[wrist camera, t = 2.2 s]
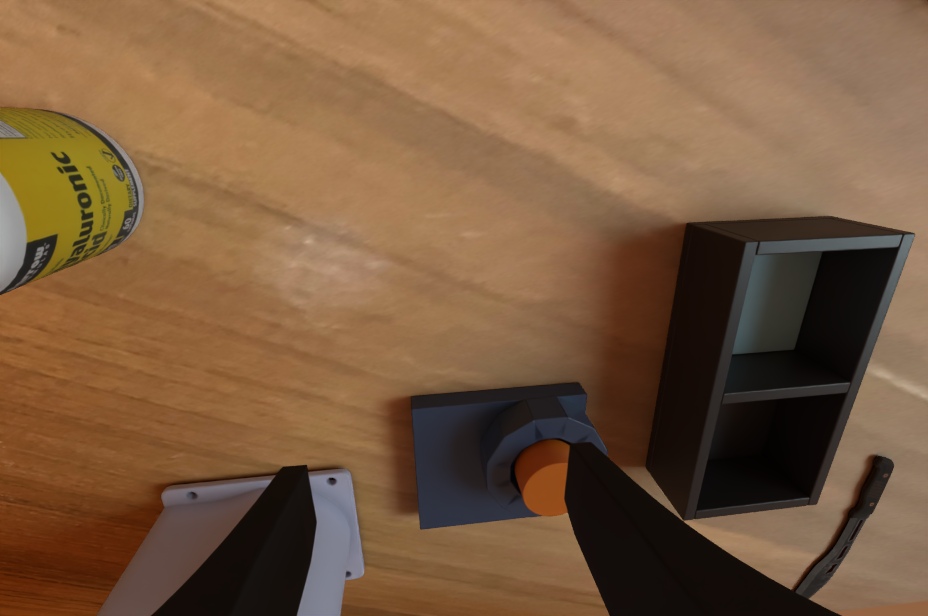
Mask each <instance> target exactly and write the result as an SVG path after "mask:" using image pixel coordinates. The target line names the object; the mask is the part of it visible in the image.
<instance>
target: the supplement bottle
mask: <svg viewBox="0 0 928 616" xmlns="http://www.w3.org/2000/svg"><path fill="white" fill-rule="evenodd" d="M143 207H144V194H143V187H142V183H141V180H140V177H139V174H138V172H137V170H136V168H135V166H134V164H133V162H132V161H131V159H130V158H129V156H128V155H127V154H126V152H125V151H124V150H123V149H122V148H121V147H120V145H119V144H118V143H116V142H115V141H114V140H113V139H112V138H111V137H110V136H108V135H107V134H106V133H104V132H103V131H102V130H100V129H98V128H97V127H95V126H94V125H92V124H90V123H88V122H86V121H84V120H82V119H79V118H77V117H74V116H71V115H68V114H64V113H59V112H54V111H48V110H40V109H26V108H11V107H0V295H2V294H4V293H6V292H9V291H11V290H13V289H16V288H18V287H20V286H23V285H25V284H28V283H30V282H33V281H35V280H38V279H40V278H43V277H45V276H48V275H50V274H53V273H55V272H58V271H60V270H63V269H65V268H67V267H70V266H73V265H75V264H77V263H80V262H82V261H85V260H87V259H89V258H92V257H95V256H98V255H100V254H102V253H104V252H106V251H108V250H110V249H112V248H114V247H116V246H118V245H120V244H121V243H122V242H124V241H125V240H126V239H127V238H129V237H130V236H131V234H132V233H133V232H134V231H135V229H136V228H137V226H138V224H139V222H140V219H141V216H142V213H143Z"/></svg>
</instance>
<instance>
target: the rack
mask: <svg viewBox="0 0 928 616" xmlns="http://www.w3.org/2000/svg"><path fill="white" fill-rule="evenodd" d="M914 237H915V234H914V233H911V232H906V231H901V230H896V229H892V228H887V227H882V226H877V225H872V224H867V223H862V222H857V221H852V220H847V219H842V218H838V217H833V216H826V217H804V218H782V219H759V220H737V221H715V222H692V223H687V226H686V232H685V238H684V244H683V249H682V255H681V261H680V267H679V273H678V279H677V285H676V291H675V297H674V303H673V309H672V314H671V320H670V326H669V332H668V338H667V344H666V350H665V356H664V362H663V368H662V373H661V379H660V385H659V391H658V397H657V403H656V409H655V415H654V421H653V427H652V433H651V438H650V444H649V450H648V456H647V462H646V469H647V470H648V472H649V473H650V474H651V476H652V477H653V479H654V480H655V481H656V483H657V484H658V486H659V487H660V488H661V490H662V491H663V493H664V494H665V495H666V497H667V498H668V500H669V501H670V502H671V504H672V505H673V507H674V508H675V509H676V511H677V512H678V514H679V515H680V516H681V518H682V519H683V520H684V521H685V520H693V519H701V518H709V517H717V516H726V515H734V514H742V513H750V512H759V511H767V510H775V509H783V508H791V507H800V506H806V505H816V504H817V503H818V500H819V497H820V494H821V492H822V489H823V486H824V483H825V481H826V478H827V475H828V472H829V470H830V467H831V464H832V461H833V459H834V456H835V453H836V451H837V448H838V445H839V442H840V440H841V437H842V434H843V431H844V429H845V426H846V423H847V420H848V418H849V415H850V412H851V409H852V407H853V404H854V401H855V398H856V396H857V393H858V390H859V387H860V385H861V382H862V379H863V376H864V374H865V371H866V368H867V365H868V363H869V360H870V357H871V355H872V352H873V349H874V346H875V344H876V341H877V338H878V335H879V333H880V330H881V327H882V324H883V322H884V319H885V316H886V313H887V311H888V308H889V305H890V302H891V300H892V297H893V294H894V291H895V289H896V286H897V283H898V280H899V278H900V275H901V272H902V269H903V267H904V264H905V261H906V259H907V256H908V253H909V250H910V248H911V245H912V242H913V239H914Z"/></svg>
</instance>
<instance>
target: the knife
mask: <svg viewBox="0 0 928 616" xmlns="http://www.w3.org/2000/svg"><path fill="white" fill-rule="evenodd" d="M873 464H874V465H875V467H874V469H873V471H872V473H871V475H870V477H869V479H868V480H867V482H866V484H865V485H864V487H863V489H862V492H861V497H860V501H859V503H858V505H857V506H856V507H855V508H854V509H852V510H851V511H850V513H849V518H850V520H849V522H848V524H847V526H846V528H845V530H844V532H843V533H842V535H841V537H840V539H839V540H838V542H837V544H836V545H835V547H834V548H833V550H832V551H831V552H830V553H829V554H828V555H827V556H826V557H825V558H824V559H823V560H822V561H820V562H819V563H818V564H817V565H816V566H815V567H814V568H813V569H812V571H811V572H810V573H809V574H808V576H807V577H806V578H805V580H804V581H803V582H802V584H801V585H800V586H799V588H798V589H797V590H796V593H798V594H799V595H801V596H803V597H805V598H807V599H809V598H810V597H812V596H813V595H814V594H815V593H816V592H817V591H818V590H819V589H820V588H822V587H823V586H824V585H825V584H826V583H827V582H828V581H829V580H830V578H831V577H832V576H833V574H834V573H835V572H836V570H837V569H838V567H839V566H840V564H841V563H842V561H843V560H844V558H845V556H846V555H847V554H848V552H849V550H850V548H851V546H852V544H853V542H854V541H855V539H856V537H857V535H858V533H859V532H860V530H861V528H862V526H863V524H864V523H865V521H866V519H867V518H868V517H869V516H870V514H872V513H873V511H874V509H875V507H876V505H877V503H878V501H879V499H880V497H881V495H882V493H883V491H884V488H885V486H886V484H887V482H888V480H889V478H890V476H891V473H892V471H893V468H894V464H893V462H892V460H890V459H888V458H886V457H882V456H878V457H877V458H876V459H875V460H874V461H873ZM831 566H832V567H831ZM830 567H831V568H830ZM829 569H830V570H829Z"/></svg>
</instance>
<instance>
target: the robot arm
mask: <svg viewBox="0 0 928 616" xmlns="http://www.w3.org/2000/svg"><path fill="white" fill-rule="evenodd" d="M328 478H334V479H335V480H330V479H328ZM191 492H194V493H196V494H193V493H191ZM161 499H162V502H163V505H164V509H163V511H162V512H161V514H160V515H159V517H158V519H157V520H156V522H155V523H154V525H153V527H152V528H151V530H150V531H149V533H148V534H147V536H146V538H145V539H144V541H143V542H142V544H141V545H140V547H139V549H138V550H137V552H136V553H135V555H134V556H133V558H132V560H131V561H130V563H129V564H128V566H127V568H126V569H125V571H124V572H123V574H122V575H121V577H120V579H119V580H118V582H117V583H116V585H115V586H114V588H113V590H112V591H111V593H110V594H109V596H108V597H107V599H106V601H105V602H104V604H103V605H102V607H101V609H100V610H99V612H98V614H97V615H96V616H340V614H341V607H342V599H343V591H344V584H345V580H350V579H357V578H360V577H361V576H362V575H363V574H364V561H363V554H362V547H361V540H360V533H359V526H358V519H357V512H356V505H355V498H354V491H353V484H352V477H351V473H350V472H349V471H348V470H346V469H332V470H322V471H312V472H308V469H307V465H300V466H288V467H283V468H282V469H281V470H280V471H279V472H278V473H277V474H276V475H272V476H262V477H252V478H242V479H232V480H221V481H211V482H201V483H191V484H181V485H172V486H168V487H167V488H165V490H164V491H163V493H162V494H161ZM564 500H565V504H566V507H567V511H568V514H569V518H570V521H571V524H572V527H573V530H574V534H575V536H576V539H577V541H578V544H579V546H580V548H581V551H582V553H583V555H584V558H585V560H586V562H587V564H588V567H589V569H590V571H591V574H592V576H593V578H594V581H595V583H596V585H597V587H598V590H599V592H600V594H601V597H602V599H603V601H604V603H605V606H606V608H607V610H608V613H609V615H610V616H841V615H839V614H837V613H835V612H832V611H830V610H828V609H826V608H824V607H822V606H821V605H819V604H817V603H815V602H813V601H811V600H809V599H807V598H805V597H803V596H801V595H799V594H798V593H796V592H794V591H792V590H790V589H788V588H786V587H785V586H783V585H781V584H779V583H777V582H776V581H774V580H772V579H770V578H769V577H767V576H765V575H764V574H762V573H760V572H759V571H757V570H755V569H754V568H752V567H750V566H749V565H747V564H745V563H743V562H742V561H740V560H739V559H737V558H735V557H734V556H732V555H731V554H729V553H728V552H726V551H725V550H723V549H722V548H720V547H719V546H717V545H716V544H714V543H713V542H711V541H710V540H708V539H707V538H706V537H704V536H703V535H701V534H700V533H698V532H697V531H695V530H694V529H693V528H691V527H690V526H689V525H687V524H686V523H685V522H683V521H682V520H681V519H679V518H678V517H677V516H676V515H674V514H673V513H672V512H670V511H669V510H668V509H667V508H665V507H664V506H663V505H662V504H660V503H659V502H658V501H657V500H656V499H654V498H653V497H652V496H651V495H650V494H648V493H647V492H646V491H645V490H644V489H643V488H641V487H640V486H639V485H638V484H637V483H636V482H634V481H633V480H632V479H631V478H630V477H629V476H628V475H627V474H626V473H624V472H623V471H622V470H621V469H620V468H619V467H618V466H617V465H616V464H615V463H613V462H612V461H611V460H610V459H609V458H608V457H607V456H606V455H605V454H604V453H603V452H602V451H600V450H599V449H598V448H597V447H596V446H595V445H594V444H593V443H592V442H583V443H570V448H569V457H568V467H567V476H566V485H565V494H564ZM347 571H348V572H347Z"/></svg>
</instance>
